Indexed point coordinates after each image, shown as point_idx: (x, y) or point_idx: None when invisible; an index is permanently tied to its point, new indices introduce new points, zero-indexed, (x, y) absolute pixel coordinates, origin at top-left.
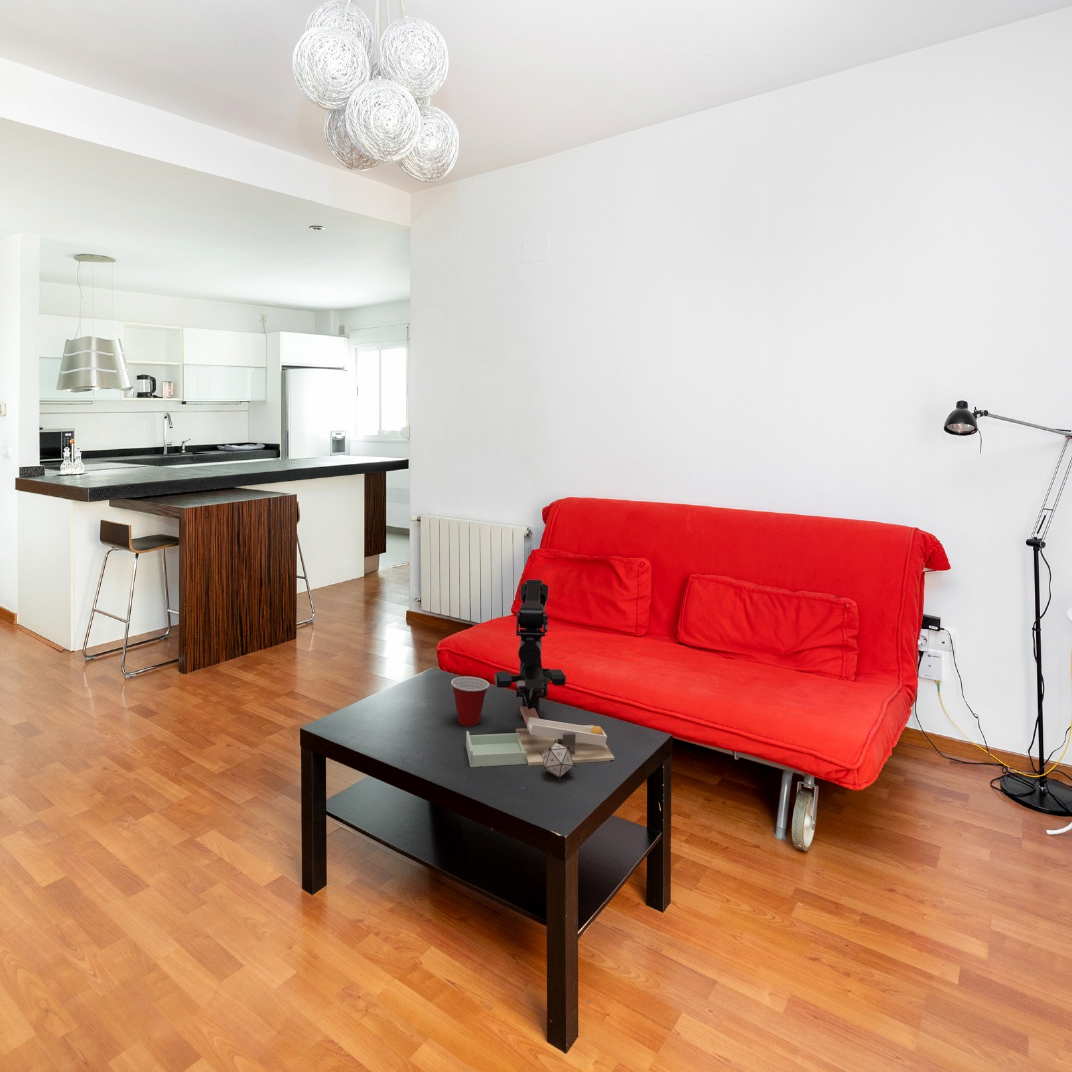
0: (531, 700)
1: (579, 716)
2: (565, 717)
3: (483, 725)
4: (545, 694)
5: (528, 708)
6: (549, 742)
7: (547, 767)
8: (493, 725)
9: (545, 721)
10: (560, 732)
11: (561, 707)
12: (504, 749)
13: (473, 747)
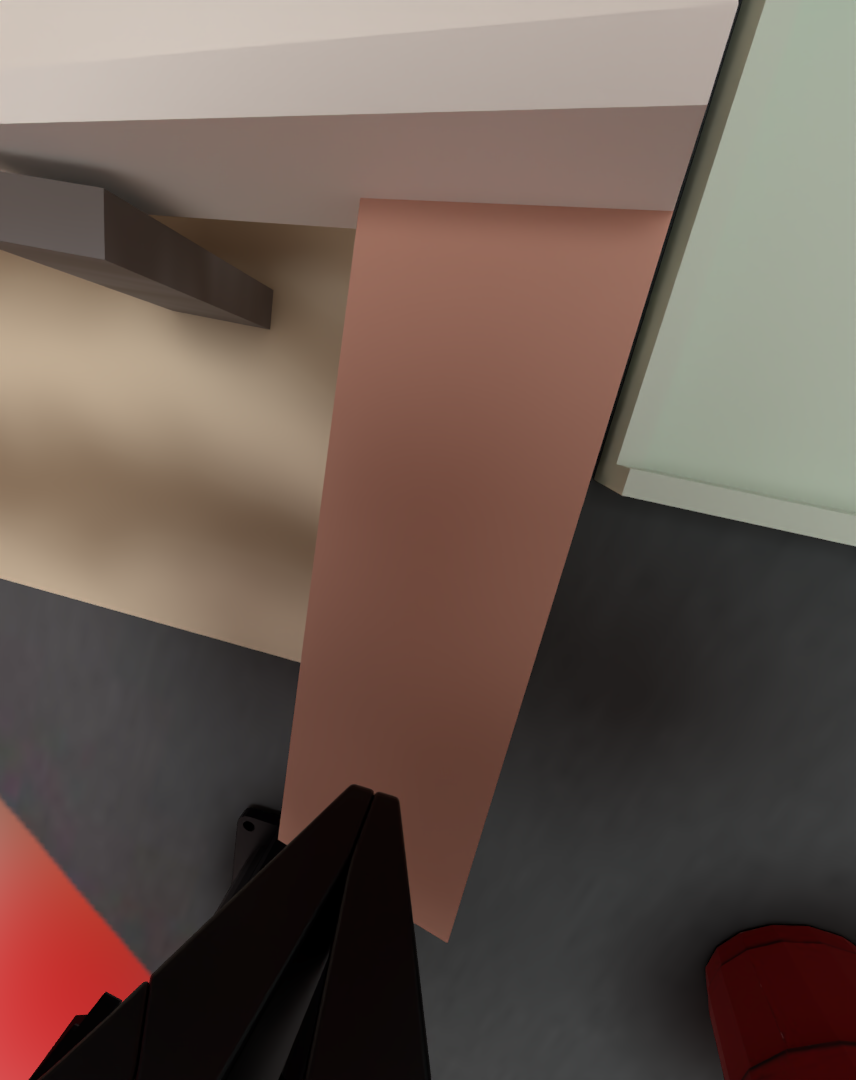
0: (280, 946)
1: (24, 744)
2: (108, 766)
3: (706, 896)
4: (66, 1043)
5: (394, 803)
6: (338, 352)
7: None
8: (630, 865)
9: (280, 63)
10: None
11: (102, 890)
12: (850, 341)
13: None
